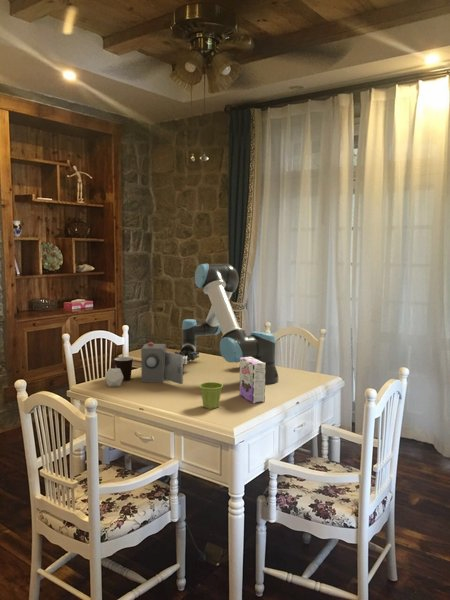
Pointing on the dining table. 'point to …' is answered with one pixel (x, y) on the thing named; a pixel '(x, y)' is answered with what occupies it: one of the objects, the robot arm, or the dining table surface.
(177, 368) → the side door
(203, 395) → the plant pot
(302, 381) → the dining table surface
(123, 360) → the coffee mug
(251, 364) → the candy box
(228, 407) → the dining table surface
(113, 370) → the die
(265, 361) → the robot arm
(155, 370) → the grey inset panel box
